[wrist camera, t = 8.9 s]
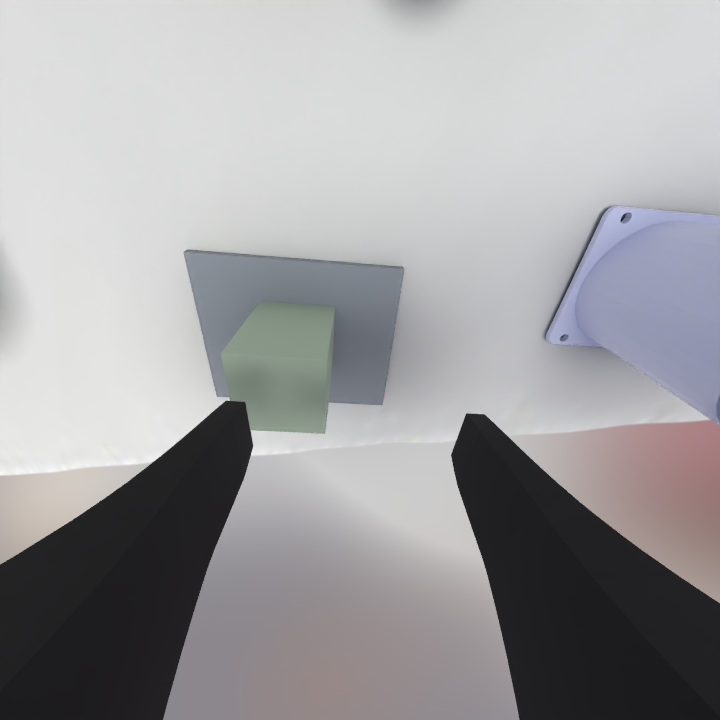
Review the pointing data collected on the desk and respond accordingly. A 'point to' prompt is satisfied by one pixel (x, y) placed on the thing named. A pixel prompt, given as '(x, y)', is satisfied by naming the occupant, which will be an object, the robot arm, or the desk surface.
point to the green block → (283, 366)
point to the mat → (303, 286)
